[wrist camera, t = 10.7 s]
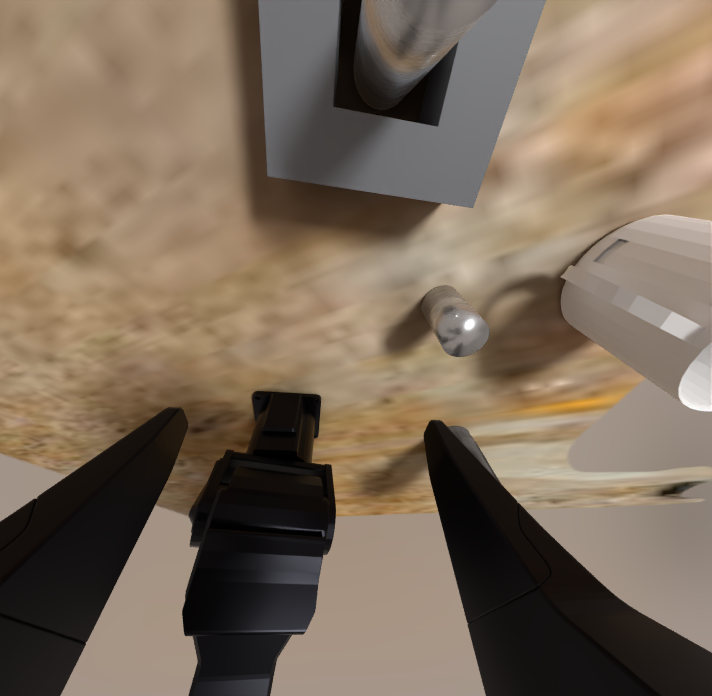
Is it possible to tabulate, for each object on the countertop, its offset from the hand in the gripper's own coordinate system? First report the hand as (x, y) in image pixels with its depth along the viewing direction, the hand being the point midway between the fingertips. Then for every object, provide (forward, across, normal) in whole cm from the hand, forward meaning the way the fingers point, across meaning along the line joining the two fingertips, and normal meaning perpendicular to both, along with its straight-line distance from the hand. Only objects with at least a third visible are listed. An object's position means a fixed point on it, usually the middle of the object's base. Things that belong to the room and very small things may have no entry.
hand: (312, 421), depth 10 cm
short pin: (+12, -9, 0) cm, 15 cm away
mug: (+12, -21, -4) cm, 25 cm away
